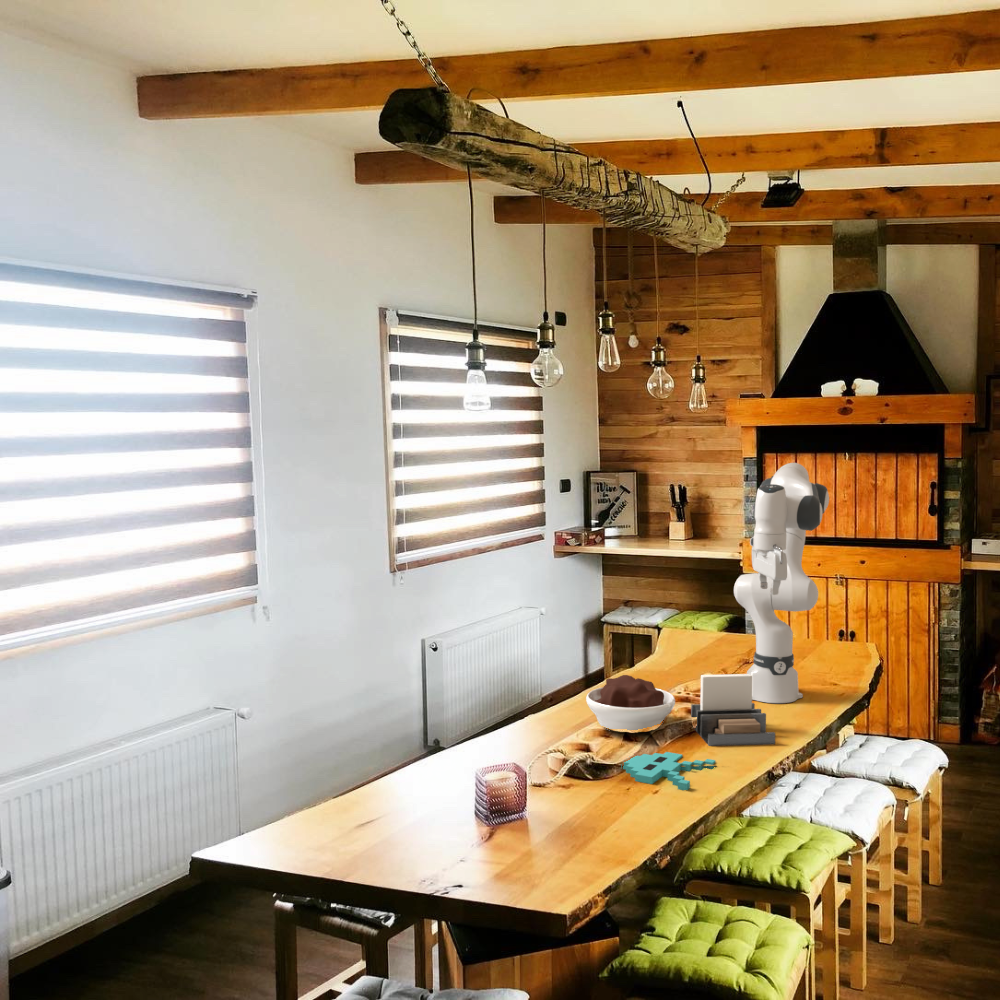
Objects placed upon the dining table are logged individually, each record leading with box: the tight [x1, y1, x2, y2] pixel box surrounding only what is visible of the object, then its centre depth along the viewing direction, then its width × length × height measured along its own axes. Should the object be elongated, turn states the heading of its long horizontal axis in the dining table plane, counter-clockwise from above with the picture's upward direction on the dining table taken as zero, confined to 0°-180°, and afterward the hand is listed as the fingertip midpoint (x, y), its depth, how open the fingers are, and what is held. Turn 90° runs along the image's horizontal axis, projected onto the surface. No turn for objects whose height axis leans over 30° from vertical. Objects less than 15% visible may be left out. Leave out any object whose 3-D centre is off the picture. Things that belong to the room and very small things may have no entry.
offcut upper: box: [718, 719, 760, 733], centre depth 298 cm, size 5×10×2 cm, turn 95°
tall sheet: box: [699, 673, 753, 710], centre depth 309 cm, size 2×14×15 cm, turn 95°
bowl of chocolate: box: [585, 674, 676, 730], centre depth 312 cm, size 25×25×15 cm
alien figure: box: [622, 751, 716, 791], centre depth 276 cm, size 20×2×20 cm
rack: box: [690, 702, 776, 747], centre depth 303 cm, size 19×18×7 cm
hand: (769, 591), depth 311 cm, fingers open, 8 cm apart
